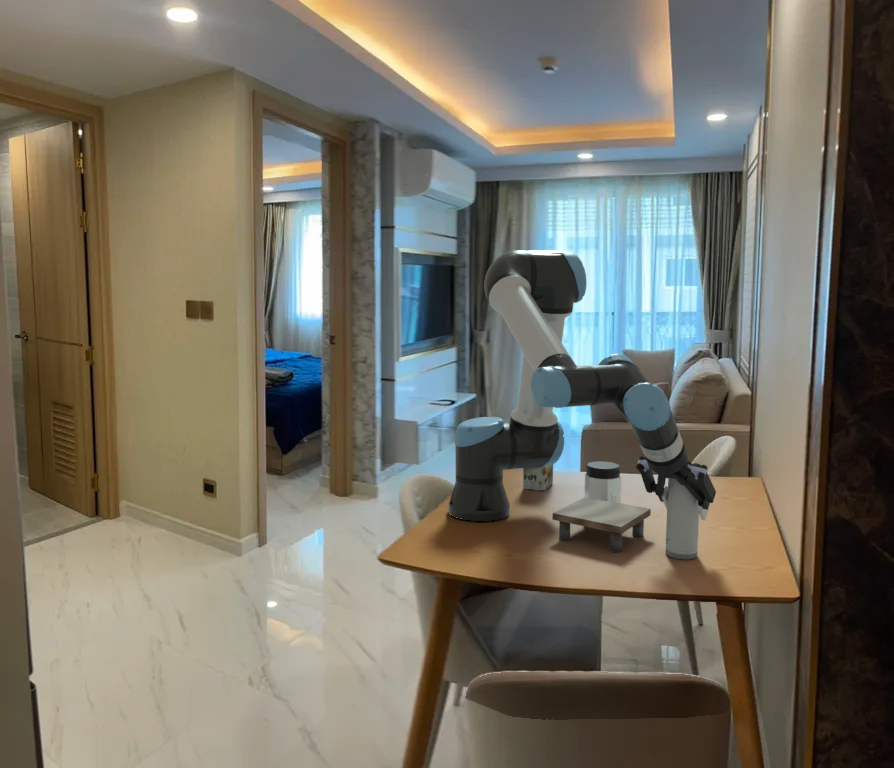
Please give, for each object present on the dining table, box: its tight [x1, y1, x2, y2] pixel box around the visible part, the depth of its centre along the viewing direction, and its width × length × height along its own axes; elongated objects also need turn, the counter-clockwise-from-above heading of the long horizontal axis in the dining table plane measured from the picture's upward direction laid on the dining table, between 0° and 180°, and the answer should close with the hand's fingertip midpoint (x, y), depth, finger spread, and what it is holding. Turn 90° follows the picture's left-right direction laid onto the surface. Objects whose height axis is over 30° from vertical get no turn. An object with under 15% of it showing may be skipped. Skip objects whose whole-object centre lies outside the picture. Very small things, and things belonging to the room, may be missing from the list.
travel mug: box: [665, 462, 702, 561], centre depth 148 cm, size 6×7×20 cm
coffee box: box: [522, 464, 554, 491], centre depth 202 cm, size 9×6×16 cm
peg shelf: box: [552, 496, 652, 553], centre depth 160 cm, size 16×16×6 cm
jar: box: [584, 460, 622, 503], centre depth 178 cm, size 9×8×12 cm
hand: (688, 511), depth 151 cm, fingers closed on travel mug, 6 cm apart
